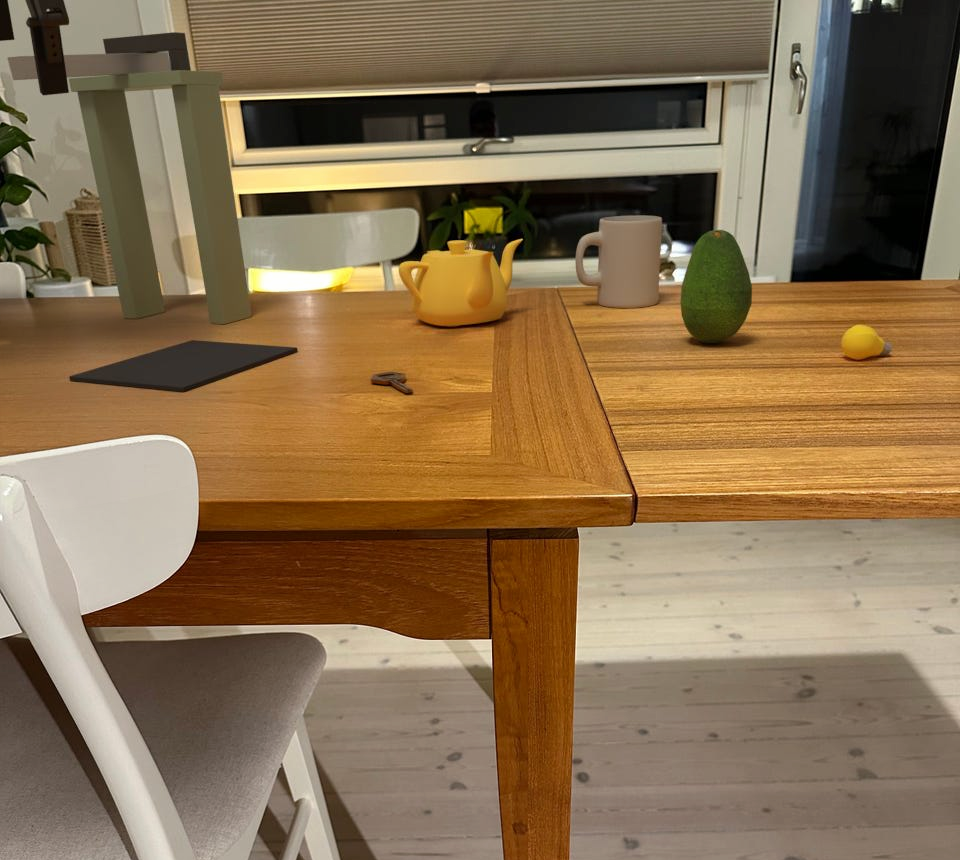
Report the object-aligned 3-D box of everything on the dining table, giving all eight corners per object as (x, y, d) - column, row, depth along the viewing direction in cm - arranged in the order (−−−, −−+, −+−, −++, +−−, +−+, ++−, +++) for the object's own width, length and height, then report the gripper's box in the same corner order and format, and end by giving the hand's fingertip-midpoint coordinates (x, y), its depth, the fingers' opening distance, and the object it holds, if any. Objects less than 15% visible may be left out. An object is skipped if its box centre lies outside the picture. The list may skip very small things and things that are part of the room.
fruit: (662, 342, 111) (668, 230, 105) (712, 333, 114) (721, 224, 108) (711, 353, 105) (721, 235, 99) (762, 343, 108) (774, 228, 102)
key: (393, 395, 93) (393, 391, 92) (365, 379, 99) (365, 375, 99) (429, 390, 94) (429, 385, 94) (399, 374, 100) (398, 370, 100)
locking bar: (12, 80, 108) (6, 57, 107) (159, 72, 126) (155, 53, 125) (26, 79, 107) (20, 56, 106) (172, 71, 125) (168, 52, 124)
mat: (69, 380, 104) (68, 376, 104) (193, 344, 120) (192, 339, 119) (183, 392, 98) (182, 387, 97) (297, 351, 113) (297, 347, 113)
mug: (644, 296, 139) (648, 214, 134) (668, 305, 132) (672, 219, 126) (565, 302, 137) (566, 219, 131) (585, 312, 129) (587, 224, 124)
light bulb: (831, 358, 100) (837, 323, 100) (875, 369, 102) (881, 335, 102) (854, 354, 97) (860, 318, 97) (899, 365, 99) (905, 330, 99)
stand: (118, 319, 137) (60, 39, 121) (157, 309, 144) (106, 42, 127) (220, 325, 130) (172, 28, 114) (256, 315, 136) (216, 32, 120)
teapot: (494, 332, 119) (492, 247, 115) (395, 329, 123) (389, 246, 119) (524, 312, 131) (523, 234, 126) (432, 310, 135) (428, 234, 130)
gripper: (86, -145, 83) (114, 112, 99) (-29, -229, 93) (13, 16, 109) (-3, -147, 79) (42, 121, 95) (-112, -234, 89) (-56, 21, 105)
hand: (27, 65), depth 102 cm, fingers open, 13 cm apart
